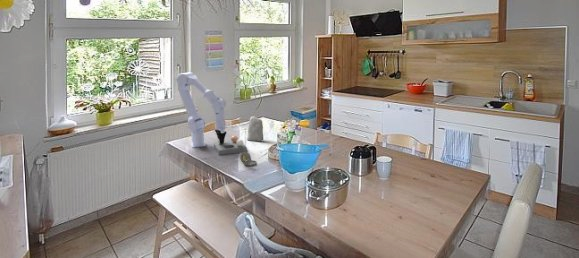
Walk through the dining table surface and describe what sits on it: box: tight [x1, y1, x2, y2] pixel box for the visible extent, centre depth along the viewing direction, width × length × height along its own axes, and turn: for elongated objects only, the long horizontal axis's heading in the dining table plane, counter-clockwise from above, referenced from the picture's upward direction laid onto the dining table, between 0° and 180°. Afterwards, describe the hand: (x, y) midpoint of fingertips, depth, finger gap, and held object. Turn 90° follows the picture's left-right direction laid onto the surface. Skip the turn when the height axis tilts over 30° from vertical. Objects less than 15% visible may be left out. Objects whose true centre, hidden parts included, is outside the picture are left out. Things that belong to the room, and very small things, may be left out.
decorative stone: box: [246, 115, 264, 142], centre depth 235 cm, size 11×6×15 cm, turn 58°
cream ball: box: [236, 138, 244, 146], centre depth 215 cm, size 4×4×4 cm
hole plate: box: [212, 140, 248, 156], centre depth 219 cm, size 17×16×2 cm
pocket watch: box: [239, 148, 257, 167], centre depth 191 cm, size 8×8×10 cm
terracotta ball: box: [230, 135, 239, 142], centre depth 223 cm, size 4×4×4 cm
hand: (221, 142), depth 221 cm, fingers closed on steel ball, 4 cm apart
